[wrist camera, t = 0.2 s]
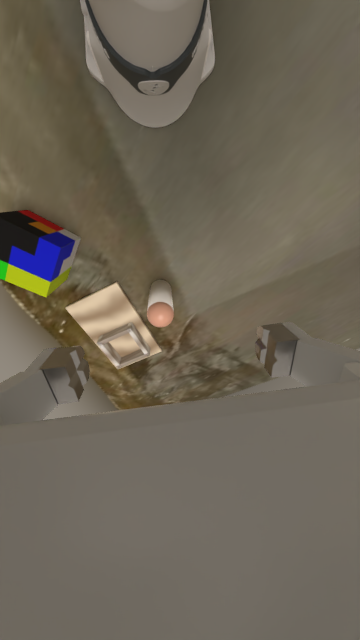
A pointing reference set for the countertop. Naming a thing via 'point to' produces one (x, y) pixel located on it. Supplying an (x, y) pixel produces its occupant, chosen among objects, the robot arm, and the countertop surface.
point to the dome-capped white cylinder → (160, 304)
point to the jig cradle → (114, 325)
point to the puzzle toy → (35, 252)
